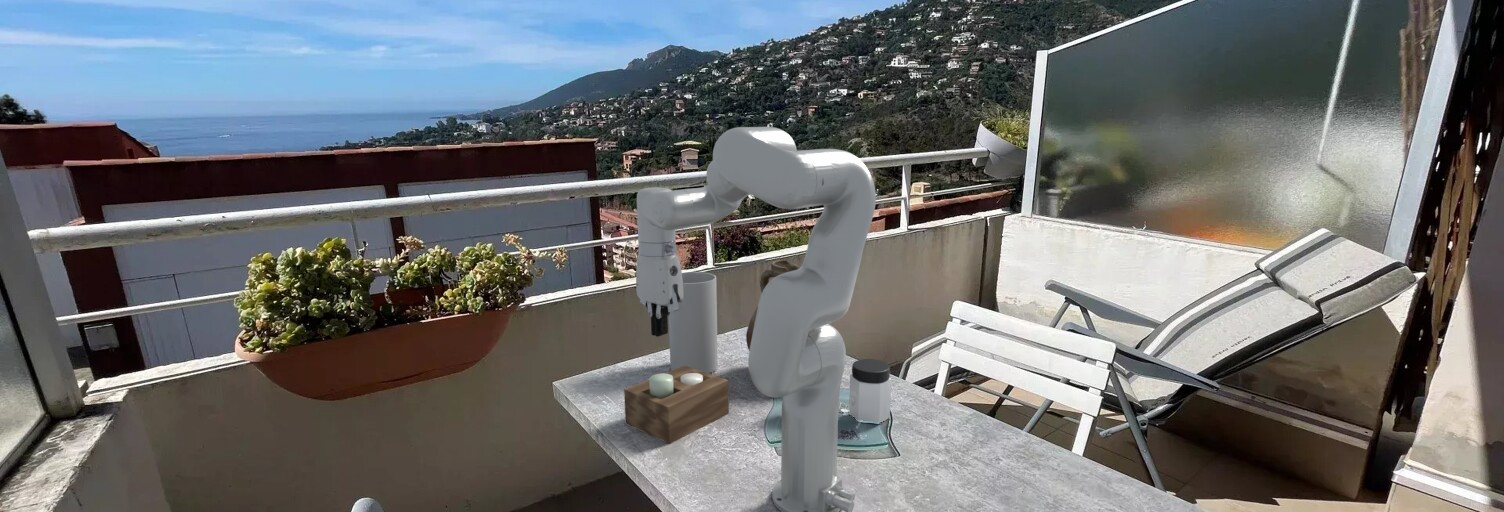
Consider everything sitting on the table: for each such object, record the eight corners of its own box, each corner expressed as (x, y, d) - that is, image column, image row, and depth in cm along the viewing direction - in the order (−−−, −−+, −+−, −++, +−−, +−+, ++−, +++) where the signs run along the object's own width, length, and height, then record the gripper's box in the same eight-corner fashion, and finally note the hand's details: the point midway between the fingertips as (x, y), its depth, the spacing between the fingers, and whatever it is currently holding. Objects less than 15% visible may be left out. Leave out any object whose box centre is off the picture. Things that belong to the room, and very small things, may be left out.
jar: (843, 410, 145) (845, 360, 142) (875, 405, 147) (877, 356, 145) (861, 427, 136) (863, 375, 134) (895, 422, 139) (897, 370, 136)
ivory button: (707, 393, 144) (707, 376, 143) (692, 400, 140) (691, 383, 139) (692, 387, 147) (691, 371, 146) (676, 394, 143) (675, 377, 142)
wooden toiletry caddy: (728, 413, 143) (728, 380, 142) (669, 443, 130) (668, 407, 128) (685, 396, 152) (684, 365, 151) (625, 423, 139) (624, 389, 137)
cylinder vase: (721, 375, 165) (719, 282, 160) (672, 379, 162) (669, 284, 157) (713, 358, 177) (712, 271, 172) (668, 362, 174) (665, 273, 169)
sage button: (678, 394, 136) (677, 377, 136) (660, 402, 133) (660, 384, 132) (662, 388, 140) (662, 371, 139) (645, 396, 136) (644, 378, 135)
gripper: (696, 250, 128) (697, 337, 132) (647, 241, 137) (649, 322, 141) (668, 256, 122) (670, 347, 126) (619, 246, 132) (622, 331, 136)
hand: (659, 334), depth 134 cm, fingers closed
